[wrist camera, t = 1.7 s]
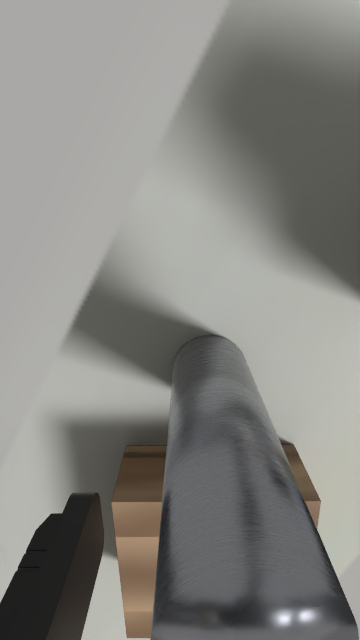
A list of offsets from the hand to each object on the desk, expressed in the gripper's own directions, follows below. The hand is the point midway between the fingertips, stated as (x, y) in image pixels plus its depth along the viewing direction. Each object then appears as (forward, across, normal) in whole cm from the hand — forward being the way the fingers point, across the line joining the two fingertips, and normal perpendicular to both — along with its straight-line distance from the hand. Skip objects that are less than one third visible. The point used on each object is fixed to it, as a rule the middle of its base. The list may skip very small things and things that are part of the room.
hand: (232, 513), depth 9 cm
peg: (+9, 0, -1) cm, 9 cm away
